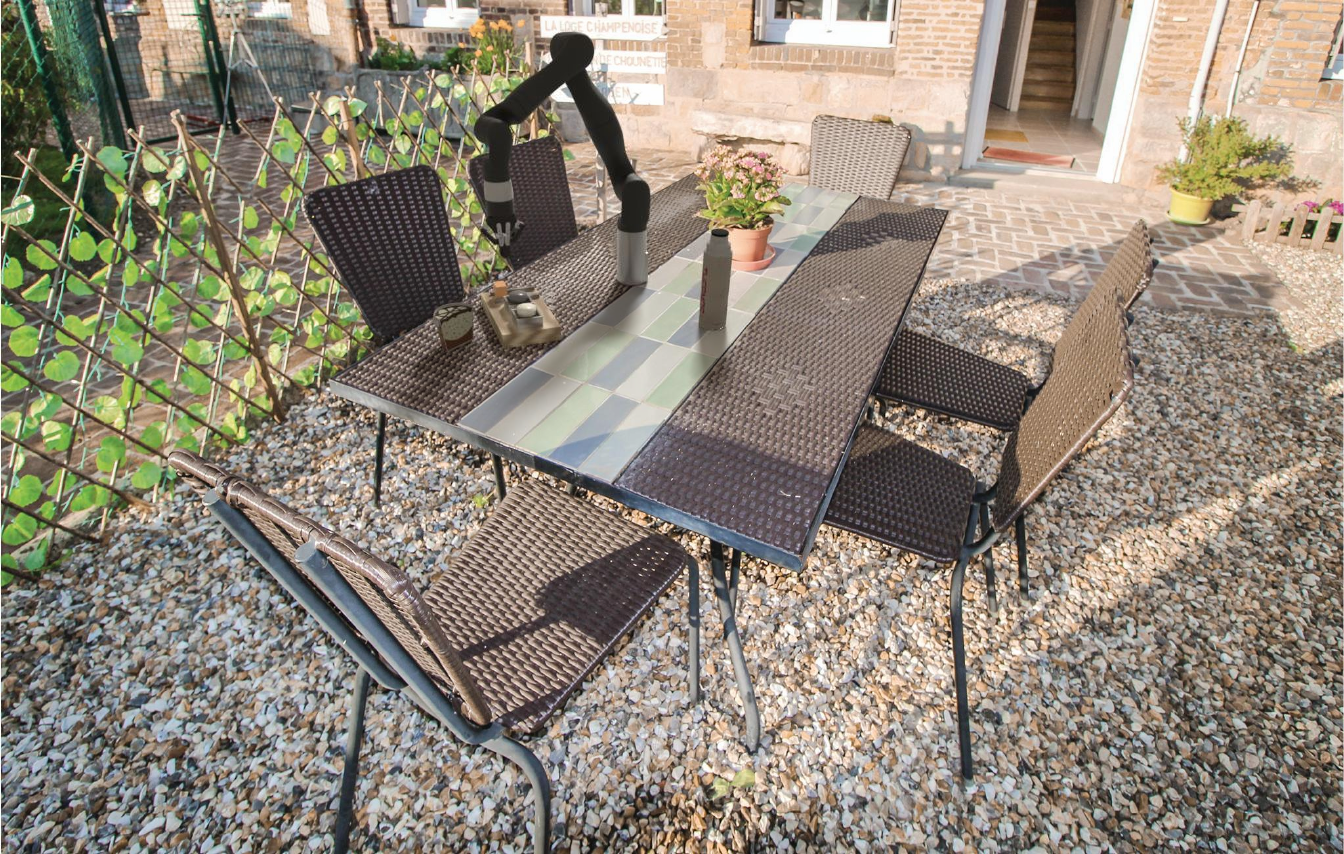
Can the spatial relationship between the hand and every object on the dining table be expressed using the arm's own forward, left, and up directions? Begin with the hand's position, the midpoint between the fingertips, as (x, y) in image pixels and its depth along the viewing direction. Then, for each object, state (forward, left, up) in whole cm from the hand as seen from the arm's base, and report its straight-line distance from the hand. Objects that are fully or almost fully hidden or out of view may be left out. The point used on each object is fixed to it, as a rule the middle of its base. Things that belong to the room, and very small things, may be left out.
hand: (505, 257), depth 209 cm
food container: (+19, +15, -16) cm, 29 cm away
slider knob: (+2, 0, -12) cm, 12 cm away
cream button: (-1, +18, -9) cm, 20 cm away
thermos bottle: (-53, +28, -16) cm, 62 cm away
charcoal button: (-1, +9, -9) cm, 13 cm away
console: (-1, +9, -16) cm, 18 cm away
